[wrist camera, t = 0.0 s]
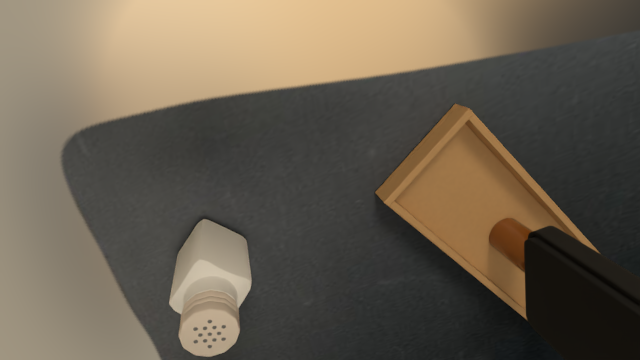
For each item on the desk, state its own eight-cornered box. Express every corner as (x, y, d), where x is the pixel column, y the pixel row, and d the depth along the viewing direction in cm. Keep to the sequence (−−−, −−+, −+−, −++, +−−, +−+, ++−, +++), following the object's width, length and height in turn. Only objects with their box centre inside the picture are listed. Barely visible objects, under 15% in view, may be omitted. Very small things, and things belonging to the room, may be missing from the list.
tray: (374, 192, 32) (383, 202, 30) (455, 103, 31) (469, 108, 29) (534, 324, 42) (548, 338, 40) (599, 261, 41) (617, 272, 39)
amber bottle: (482, 237, 35) (579, 317, 26) (507, 211, 35) (616, 282, 25) (501, 255, 37) (601, 337, 27) (526, 229, 36) (637, 304, 27)
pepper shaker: (249, 236, 31) (261, 319, 22) (222, 275, 31) (223, 371, 23) (202, 213, 29) (194, 292, 20) (174, 255, 30) (156, 349, 21)
